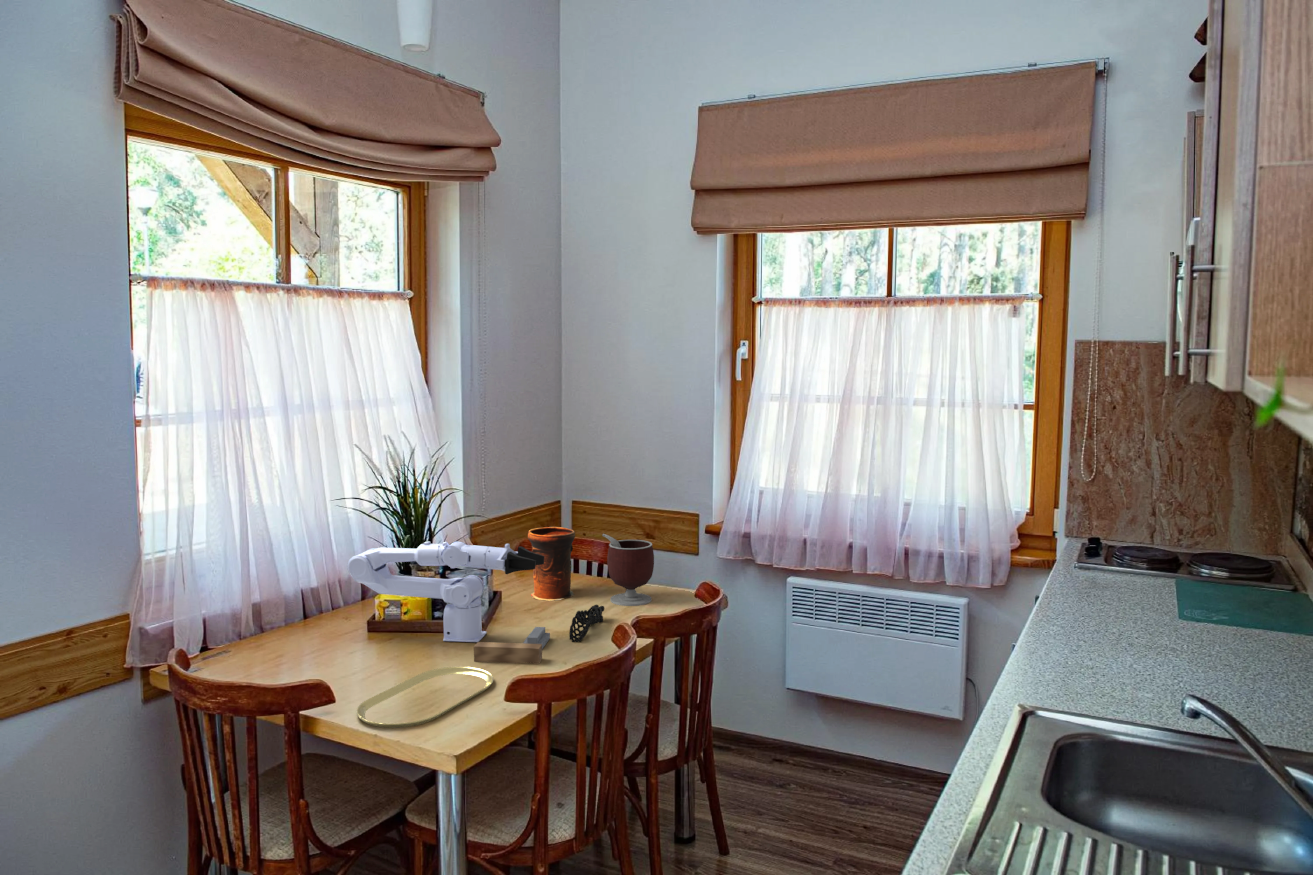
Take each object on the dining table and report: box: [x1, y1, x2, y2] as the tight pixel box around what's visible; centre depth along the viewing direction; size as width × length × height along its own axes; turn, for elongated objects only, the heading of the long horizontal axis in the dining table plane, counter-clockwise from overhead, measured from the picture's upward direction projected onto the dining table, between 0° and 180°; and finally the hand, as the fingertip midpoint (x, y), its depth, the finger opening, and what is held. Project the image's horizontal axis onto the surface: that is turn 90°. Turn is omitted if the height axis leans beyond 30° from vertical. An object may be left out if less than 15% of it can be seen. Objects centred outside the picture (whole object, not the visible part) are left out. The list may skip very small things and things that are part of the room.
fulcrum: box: [522, 626, 551, 650], centre depth 245 cm, size 5×9×3 cm, turn 174°
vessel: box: [527, 526, 576, 602], centre depth 291 cm, size 14×14×20 cm
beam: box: [473, 641, 543, 665], centre depth 232 cm, size 16×4×4 cm, turn 84°
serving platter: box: [356, 666, 494, 729], centre depth 208 cm, size 19×35×2 cm, turn 155°
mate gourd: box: [602, 533, 655, 607], centre depth 285 cm, size 16×14×20 cm
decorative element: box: [568, 604, 605, 643], centre depth 256 cm, size 22×5×6 cm, turn 168°
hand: (539, 562), depth 244 cm, fingers open, 7 cm apart
